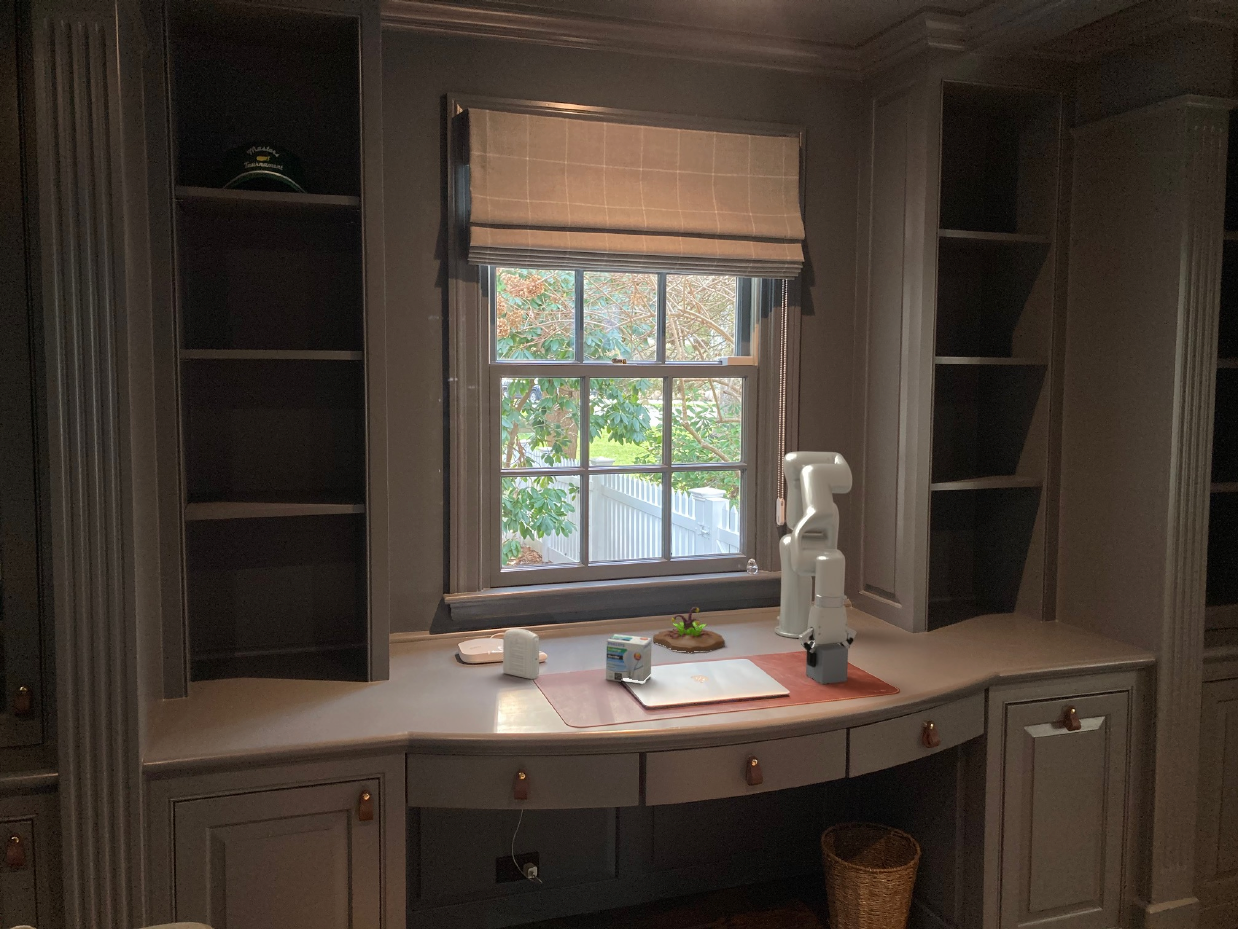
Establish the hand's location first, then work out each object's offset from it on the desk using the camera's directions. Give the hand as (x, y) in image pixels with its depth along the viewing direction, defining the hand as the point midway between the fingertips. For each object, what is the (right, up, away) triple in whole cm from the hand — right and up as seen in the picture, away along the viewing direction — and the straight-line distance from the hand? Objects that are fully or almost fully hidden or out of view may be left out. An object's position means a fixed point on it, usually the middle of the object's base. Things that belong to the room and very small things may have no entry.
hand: (826, 664), depth 244 cm
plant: (-34, -1, +32) cm, 47 cm away
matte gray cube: (0, -4, 0) cm, 4 cm away
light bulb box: (-53, -4, -2) cm, 53 cm away
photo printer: (-81, -3, 0) cm, 81 cm away
